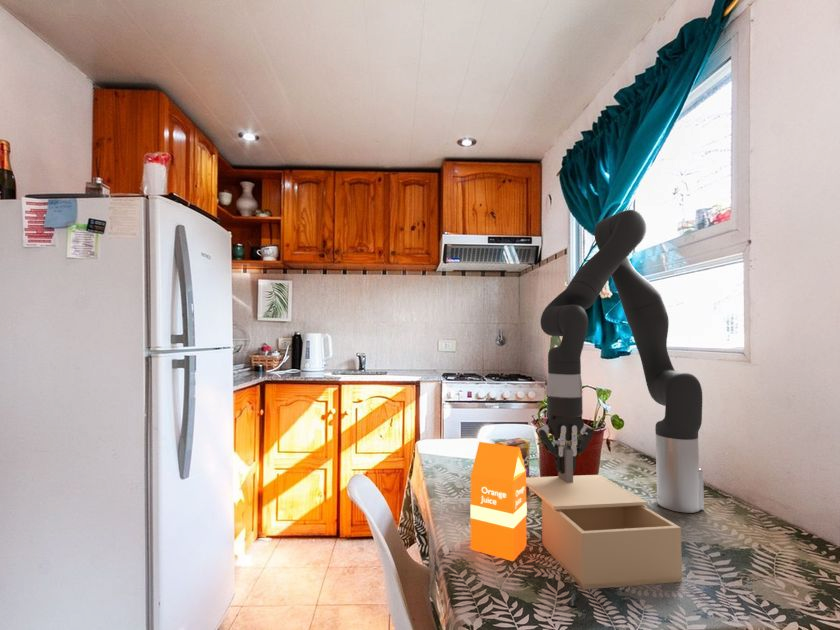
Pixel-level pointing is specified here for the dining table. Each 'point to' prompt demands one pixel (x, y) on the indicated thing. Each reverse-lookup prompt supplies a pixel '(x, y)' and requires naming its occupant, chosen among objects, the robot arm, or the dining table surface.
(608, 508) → the carton
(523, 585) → the dining table surface
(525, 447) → the candy box
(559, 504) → the carton lid
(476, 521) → the orange juice
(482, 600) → the dining table surface
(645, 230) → the robot arm
